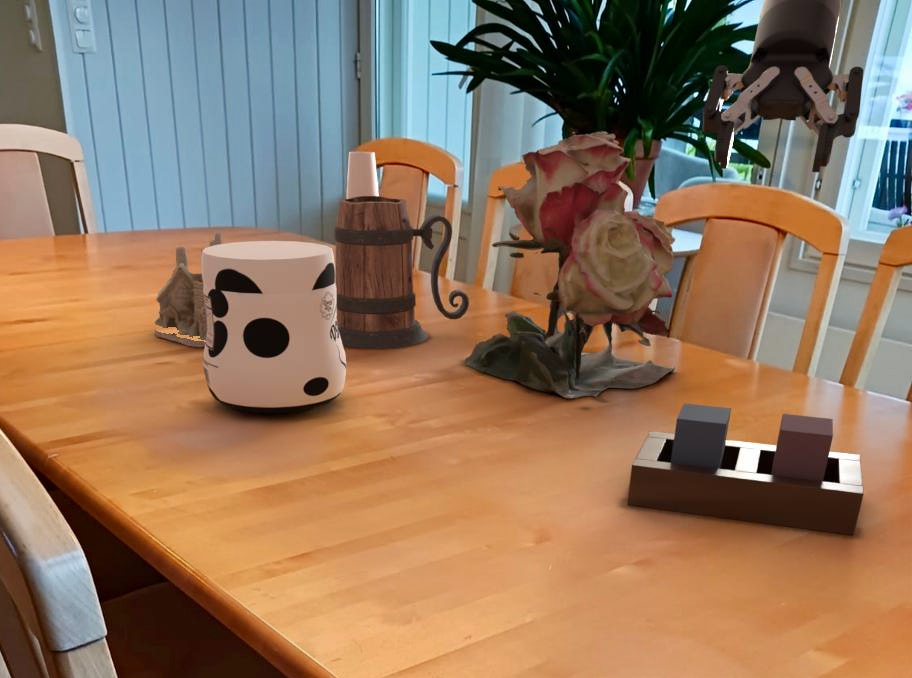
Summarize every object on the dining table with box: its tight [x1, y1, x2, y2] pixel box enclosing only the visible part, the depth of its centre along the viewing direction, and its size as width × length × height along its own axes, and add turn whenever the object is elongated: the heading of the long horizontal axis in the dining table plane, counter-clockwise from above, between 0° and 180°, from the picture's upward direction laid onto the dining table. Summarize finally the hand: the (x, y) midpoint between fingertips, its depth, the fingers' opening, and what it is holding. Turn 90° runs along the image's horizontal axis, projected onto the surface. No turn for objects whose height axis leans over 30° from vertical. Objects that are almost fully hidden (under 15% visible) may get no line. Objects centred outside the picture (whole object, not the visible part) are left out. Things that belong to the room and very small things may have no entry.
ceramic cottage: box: [154, 232, 223, 348], centre depth 150 cm, size 16×16×15 cm
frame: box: [626, 430, 865, 536], centre depth 94 cm, size 11×20×4 cm, turn 71°
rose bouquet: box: [449, 131, 676, 400], centre depth 130 cm, size 26×29×30 cm
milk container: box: [200, 240, 347, 414], centre depth 117 cm, size 17×17×18 cm
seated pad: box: [771, 413, 834, 481], centre depth 92 cm, size 6×4×8 cm
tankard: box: [333, 195, 470, 349], centre depth 150 cm, size 24×17×20 cm
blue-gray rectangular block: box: [671, 403, 732, 469], centre depth 94 cm, size 6×4×8 cm
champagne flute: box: [345, 151, 380, 199], centre depth 185 cm, size 7×7×24 cm
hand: (769, 164), depth 92 cm, fingers open, 8 cm apart
